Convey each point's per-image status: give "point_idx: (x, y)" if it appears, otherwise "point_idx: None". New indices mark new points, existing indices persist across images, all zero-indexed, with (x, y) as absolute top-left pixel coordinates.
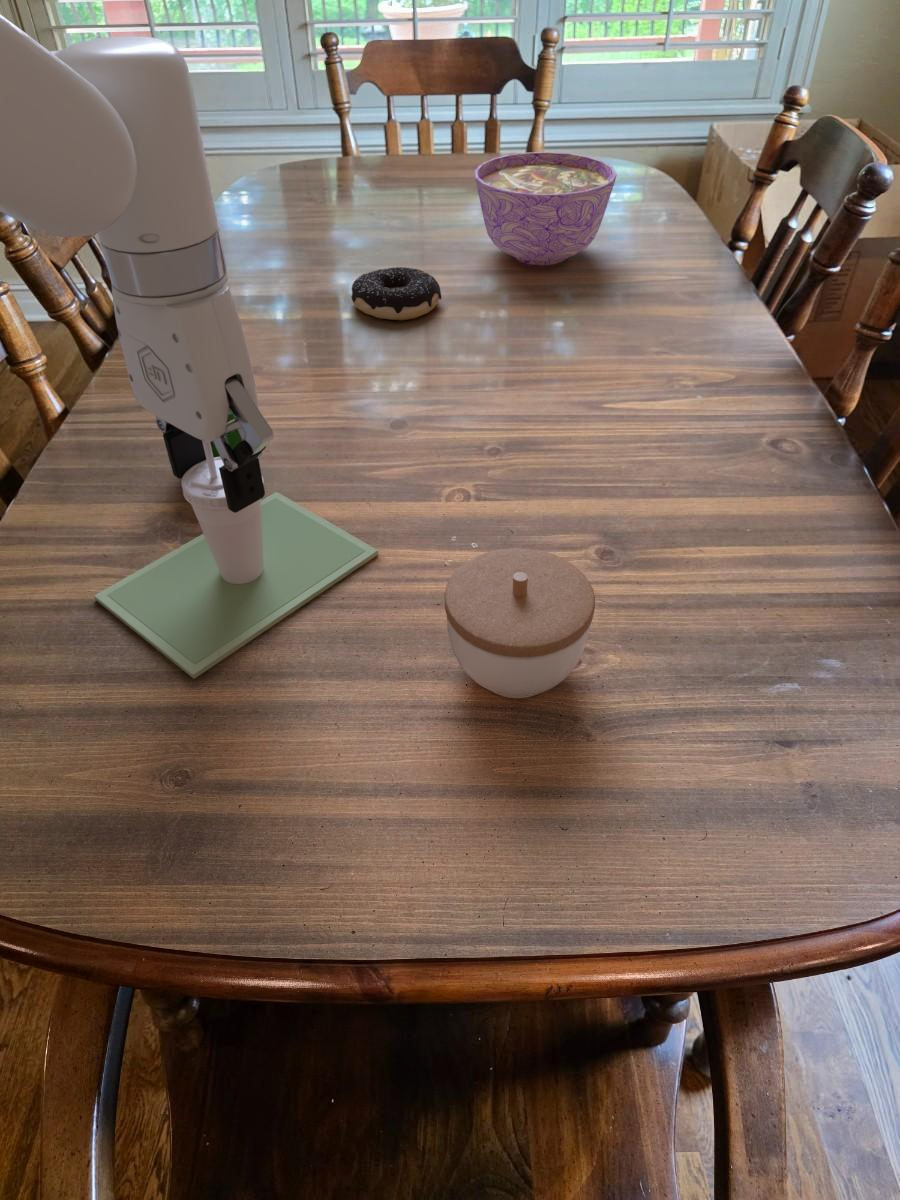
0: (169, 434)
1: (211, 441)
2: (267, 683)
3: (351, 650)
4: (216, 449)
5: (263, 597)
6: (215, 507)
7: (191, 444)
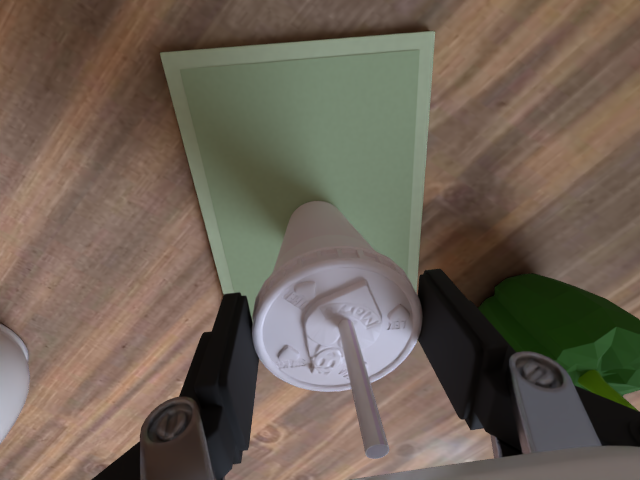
0: (491, 359)
1: (523, 340)
2: (97, 133)
3: (101, 245)
4: (510, 333)
5: (249, 219)
6: (273, 275)
7: (445, 358)
